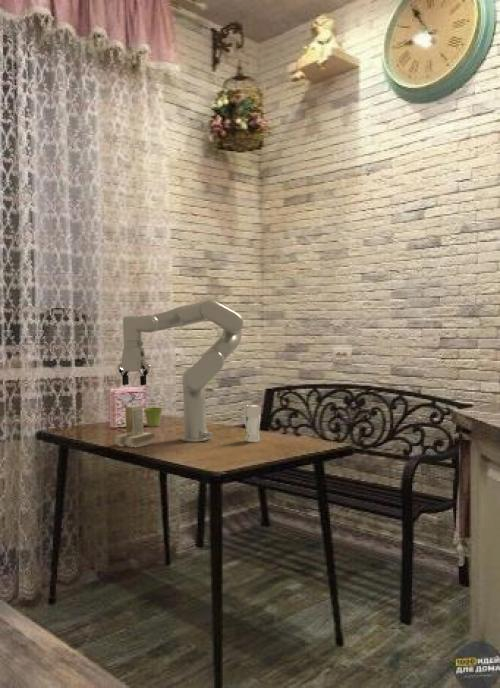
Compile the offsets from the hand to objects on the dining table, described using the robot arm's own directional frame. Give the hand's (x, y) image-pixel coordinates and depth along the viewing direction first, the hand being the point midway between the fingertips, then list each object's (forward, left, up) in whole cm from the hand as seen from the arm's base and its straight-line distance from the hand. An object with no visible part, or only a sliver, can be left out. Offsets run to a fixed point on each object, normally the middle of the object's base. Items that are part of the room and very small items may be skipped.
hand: (134, 384), depth 255 cm
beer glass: (-44, -23, -25) cm, 56 cm away
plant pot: (+23, -38, -25) cm, 51 cm away
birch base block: (-1, +3, -25) cm, 25 cm away
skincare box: (-2, +3, -21) cm, 21 cm away
